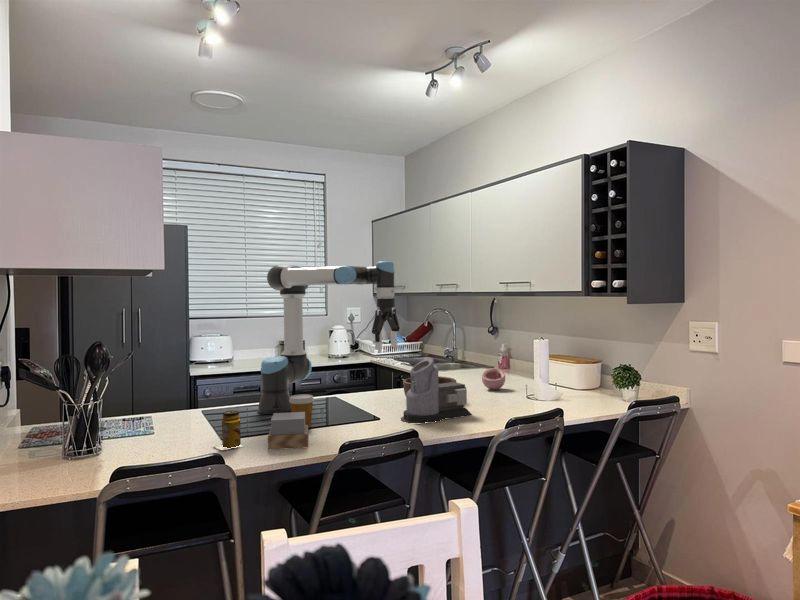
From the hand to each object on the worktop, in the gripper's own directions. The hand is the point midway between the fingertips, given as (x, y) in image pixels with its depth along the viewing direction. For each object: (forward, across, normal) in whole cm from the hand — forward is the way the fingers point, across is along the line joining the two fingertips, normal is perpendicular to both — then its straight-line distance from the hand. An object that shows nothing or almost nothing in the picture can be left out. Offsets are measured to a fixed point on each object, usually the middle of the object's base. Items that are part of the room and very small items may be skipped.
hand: (386, 348), depth 233 cm
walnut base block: (+28, -54, +10) cm, 61 cm away
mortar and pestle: (+28, +71, -24) cm, 80 cm away
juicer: (+28, +3, -21) cm, 35 cm away
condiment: (+28, -66, +26) cm, 76 cm away
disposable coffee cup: (+28, -33, +20) cm, 48 cm away
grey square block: (+23, -54, +10) cm, 59 cm away
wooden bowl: (+28, +30, -6) cm, 42 cm away
